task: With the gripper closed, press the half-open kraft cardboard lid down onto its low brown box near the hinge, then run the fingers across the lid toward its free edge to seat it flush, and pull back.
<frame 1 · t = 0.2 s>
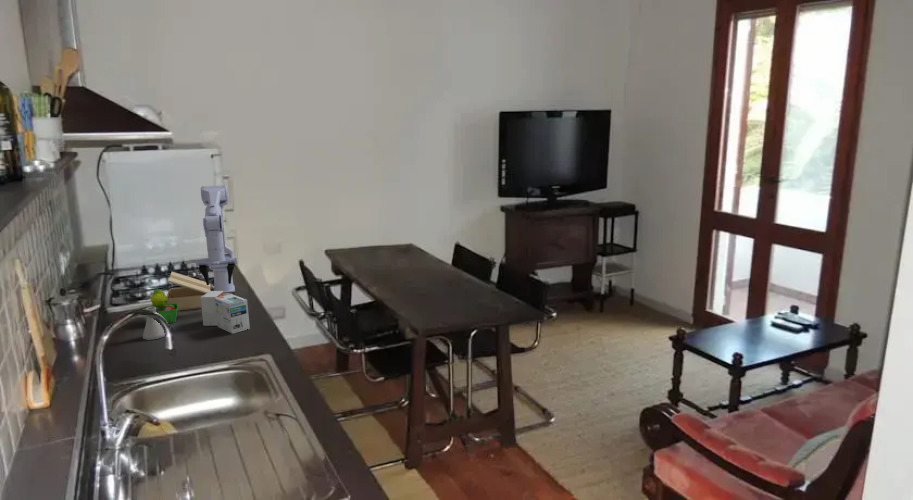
hand: (219, 283, 239), 10 cm above the countertop, tool pointing down, fingers open, 7 cm apart
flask: (154, 337, 214), on the countertop
fruit basket: (162, 322, 229), on the countertop
cardboard box: (190, 304, 248), on the countertop
small box: (215, 322, 227), on the countertop
light bulb box: (233, 328, 221), on the countertop
cardboard lid: (190, 282, 246), point 9 cm above the countertop, hinge at 25.0°
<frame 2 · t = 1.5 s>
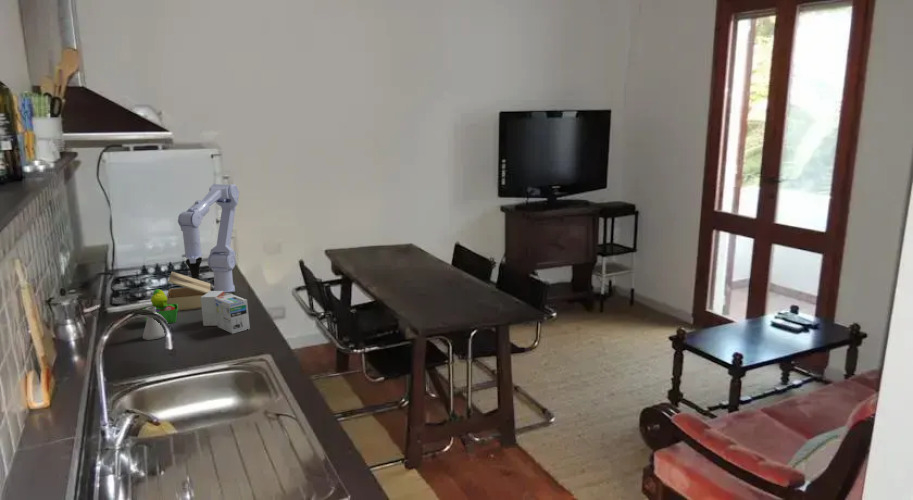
hand: (195, 277, 247), 10 cm above the countertop, tool pointing down, fingers closed
nothing on the countertop moved.
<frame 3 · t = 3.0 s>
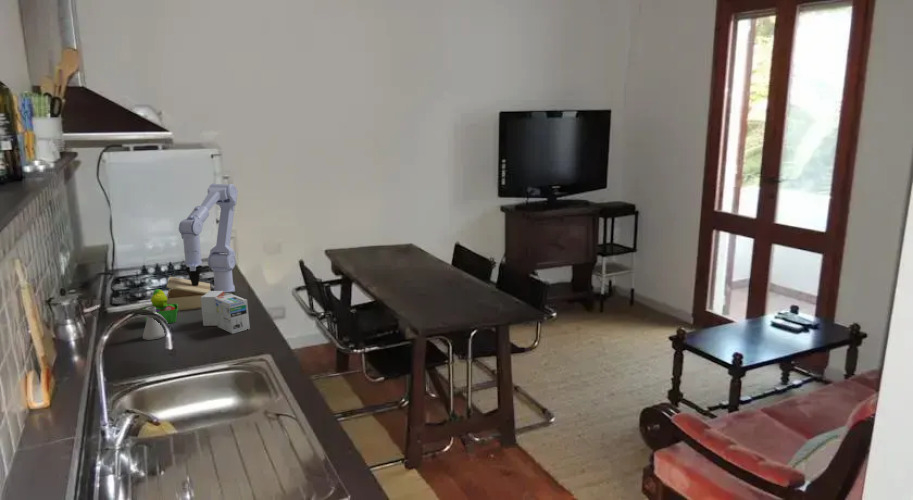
hand: (195, 285, 247), 7 cm above the countertop, tool pointing down, fingers closed, pressing on cardboard lid
cardboard lid: (189, 285, 246), point 8 cm above the countertop, hinge at 16.7°, touching gripper
everything else where it was.
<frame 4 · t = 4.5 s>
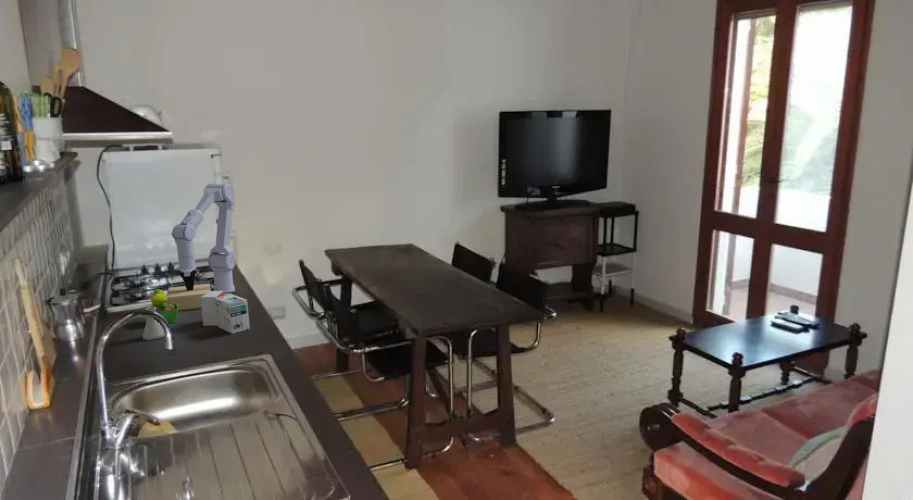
hand: (190, 290, 247), 6 cm above the countertop, tool pointing down, fingers closed, pressing on cardboard lid
cardboard lid: (188, 290, 247), point 5 cm above the countertop, hinge at -0.3°, touching cardboard box, gripper
everything else where it was.
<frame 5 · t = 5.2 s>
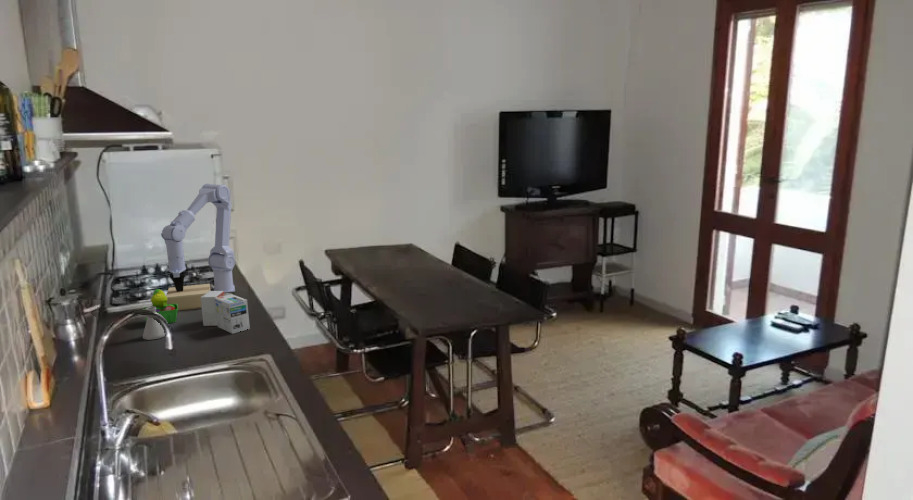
hand: (179, 291, 246), 6 cm above the countertop, tool pointing down, fingers closed, pressing on cardboard lid
cardboard lid: (188, 290, 247), point 5 cm above the countertop, hinge at -0.3°, touching cardboard box, gripper
everything else where it was.
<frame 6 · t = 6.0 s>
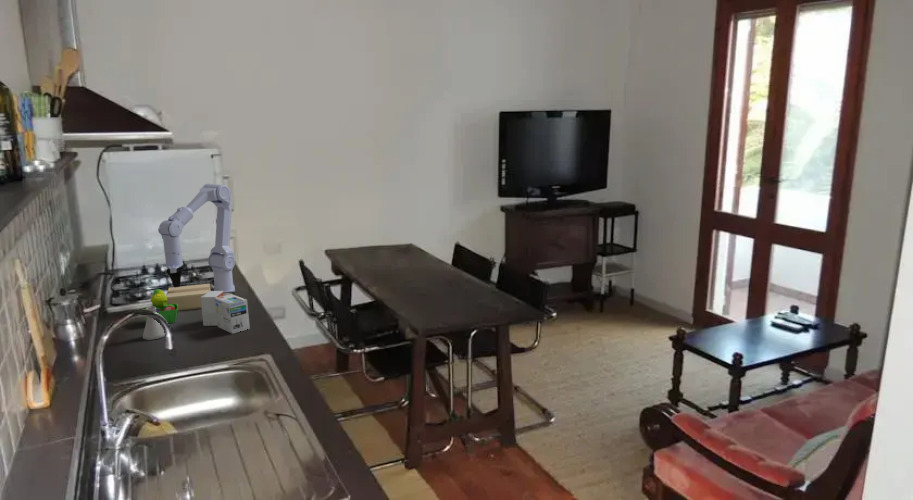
hand: (177, 286, 245), 7 cm above the countertop, tool pointing down, fingers closed
cardboard lid: (188, 290, 247), point 5 cm above the countertop, hinge at -0.3°, touching cardboard box
everything else where it was.
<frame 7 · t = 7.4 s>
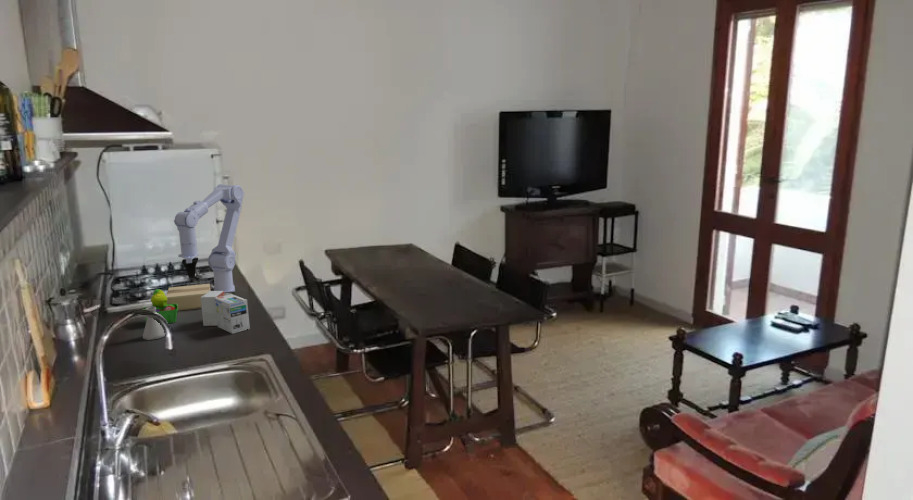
hand: (192, 277, 249), 10 cm above the countertop, tool pointing down, fingers closed
nothing on the countertop moved.
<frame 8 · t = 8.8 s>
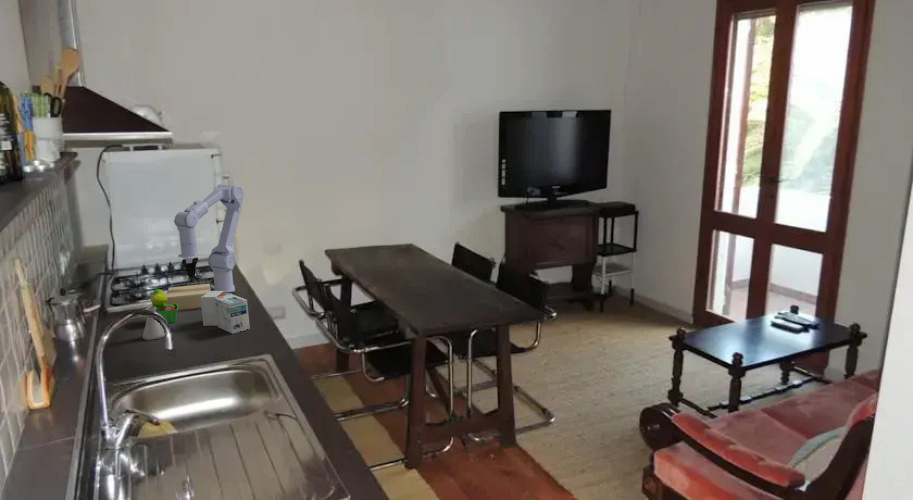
hand: (192, 277, 249), 10 cm above the countertop, tool pointing down, fingers closed
nothing on the countertop moved.
at the end: cardboard lid at +0° (first picture: +25°); the gripper is holding nothing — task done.
